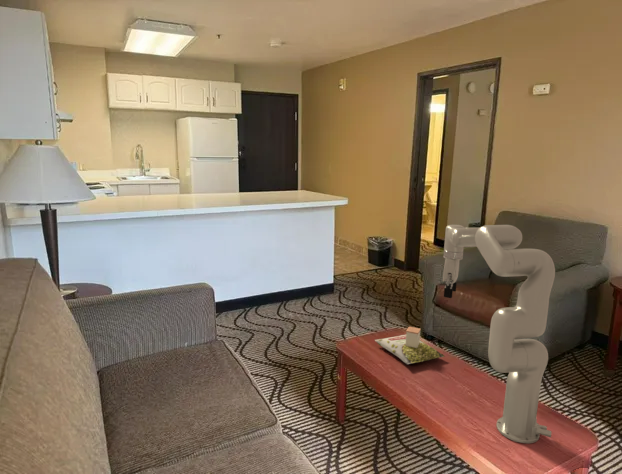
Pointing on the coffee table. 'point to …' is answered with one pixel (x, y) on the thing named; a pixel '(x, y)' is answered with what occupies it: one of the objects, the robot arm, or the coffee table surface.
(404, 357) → the frozen beans
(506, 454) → the coffee table surface
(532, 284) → the robot arm
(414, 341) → the salmon block
